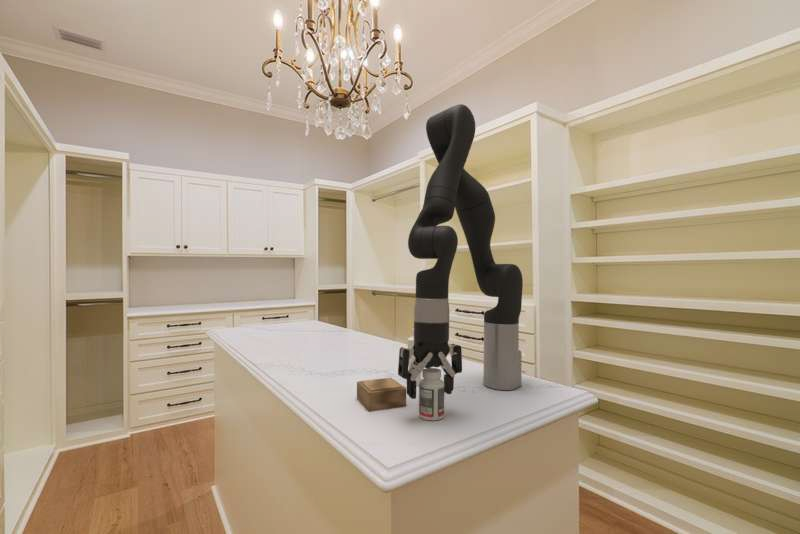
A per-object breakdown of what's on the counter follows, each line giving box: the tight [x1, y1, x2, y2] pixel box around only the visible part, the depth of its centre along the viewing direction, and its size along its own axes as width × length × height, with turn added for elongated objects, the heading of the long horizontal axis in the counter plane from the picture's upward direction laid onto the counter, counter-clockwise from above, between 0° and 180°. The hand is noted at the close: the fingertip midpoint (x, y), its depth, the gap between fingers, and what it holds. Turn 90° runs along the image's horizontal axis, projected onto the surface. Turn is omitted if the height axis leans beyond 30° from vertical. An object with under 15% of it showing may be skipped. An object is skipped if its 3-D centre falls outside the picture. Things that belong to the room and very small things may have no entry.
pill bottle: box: [418, 367, 445, 421], centre depth 78 cm, size 5×5×10 cm
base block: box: [356, 377, 407, 412], centre depth 86 cm, size 9×9×4 cm
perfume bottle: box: [407, 328, 422, 387], centre depth 101 cm, size 5×4×15 cm
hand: (430, 395), depth 78 cm, fingers open, 8 cm apart
